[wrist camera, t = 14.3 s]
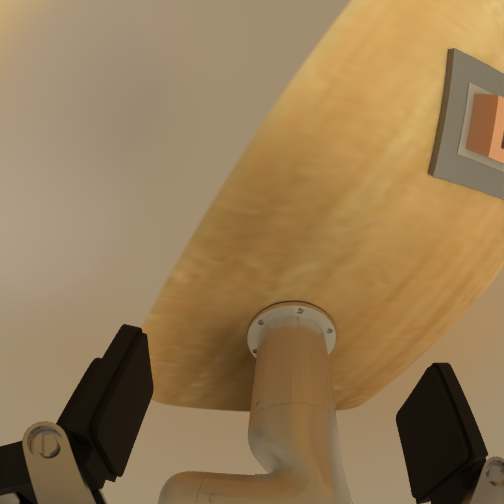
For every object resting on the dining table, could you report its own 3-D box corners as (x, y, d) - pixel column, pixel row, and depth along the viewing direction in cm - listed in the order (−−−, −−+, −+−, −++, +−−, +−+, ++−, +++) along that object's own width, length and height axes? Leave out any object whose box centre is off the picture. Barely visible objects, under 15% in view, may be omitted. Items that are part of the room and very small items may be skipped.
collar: (504, 164, 29) (527, 174, 25) (465, 148, 29) (488, 157, 25) (513, 113, 26) (538, 118, 21) (474, 93, 26) (498, 94, 22)
